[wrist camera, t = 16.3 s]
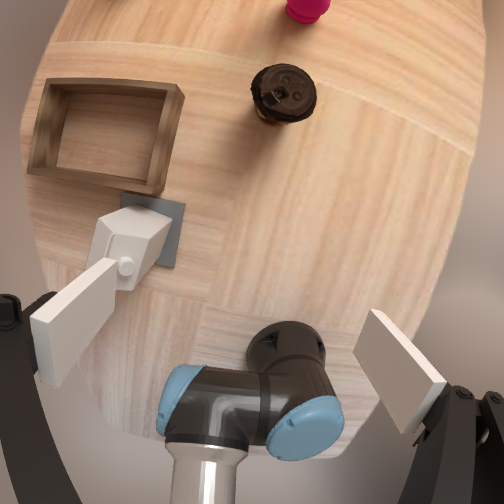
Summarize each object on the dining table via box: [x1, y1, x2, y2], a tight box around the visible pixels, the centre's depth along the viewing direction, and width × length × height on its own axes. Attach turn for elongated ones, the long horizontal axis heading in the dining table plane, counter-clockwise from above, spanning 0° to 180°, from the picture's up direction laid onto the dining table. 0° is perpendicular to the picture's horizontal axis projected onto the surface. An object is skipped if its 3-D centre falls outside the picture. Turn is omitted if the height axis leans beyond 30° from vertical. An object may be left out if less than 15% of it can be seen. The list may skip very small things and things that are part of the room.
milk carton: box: [86, 204, 173, 291], centre depth 40 cm, size 7×7×19 cm
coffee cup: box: [250, 63, 317, 127], centre depth 40 cm, size 9×8×13 cm
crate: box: [27, 78, 185, 194], centre depth 41 cm, size 16×23×8 cm
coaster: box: [120, 192, 185, 268], centre depth 50 cm, size 11×11×1 cm
